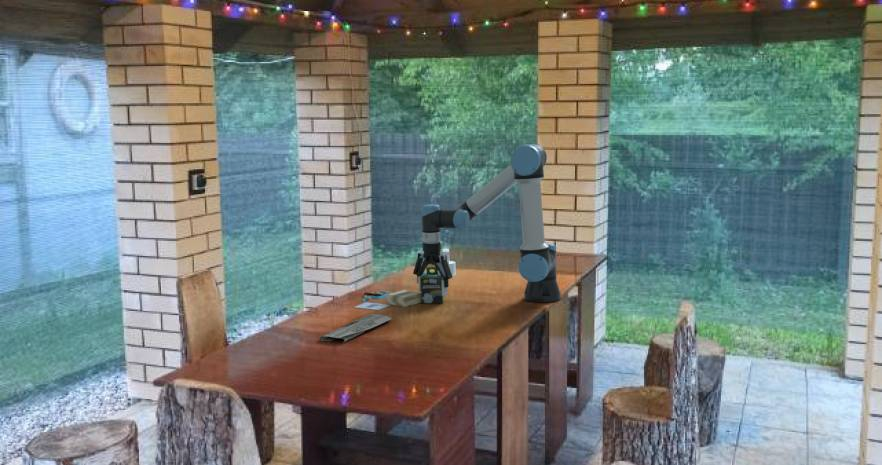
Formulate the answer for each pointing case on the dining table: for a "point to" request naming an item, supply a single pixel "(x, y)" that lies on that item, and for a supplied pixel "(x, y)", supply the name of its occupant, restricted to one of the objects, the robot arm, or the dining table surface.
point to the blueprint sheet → (372, 306)
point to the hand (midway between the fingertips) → (433, 293)
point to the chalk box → (431, 286)
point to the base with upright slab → (450, 262)
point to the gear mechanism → (374, 295)
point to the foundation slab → (404, 298)
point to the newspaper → (356, 327)
